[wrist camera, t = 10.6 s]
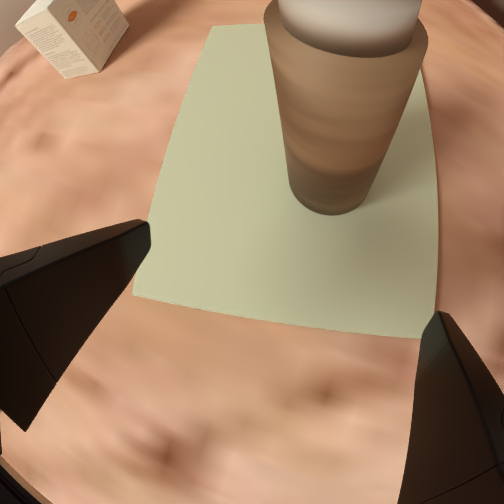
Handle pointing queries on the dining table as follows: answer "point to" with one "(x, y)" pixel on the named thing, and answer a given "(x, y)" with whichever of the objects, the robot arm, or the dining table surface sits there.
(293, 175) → the pepper mill
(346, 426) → the dining table surface
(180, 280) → the placemat
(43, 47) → the small box
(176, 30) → the dining table surface
